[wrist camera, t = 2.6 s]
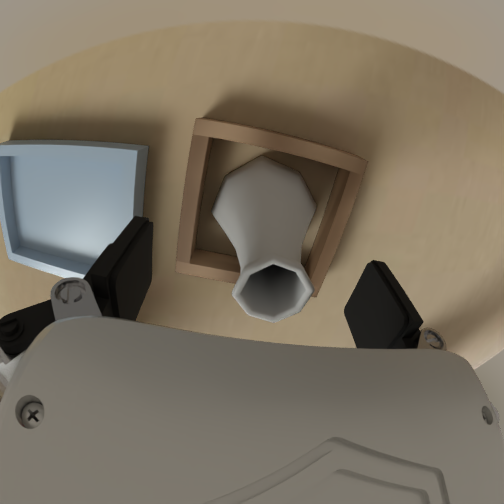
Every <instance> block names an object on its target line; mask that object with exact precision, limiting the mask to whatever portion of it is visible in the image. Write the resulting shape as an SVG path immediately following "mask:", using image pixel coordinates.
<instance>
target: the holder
mask: <svg viewBox="0 0 504 504" xmlns="http://www.w3.org/2000/svg"><path fill="white" fill-rule="evenodd" d="M213 138H219V139H224V140H230V141H235V142H240V143H245V144H250V145H255V146H259V147H264V148H268V149H272V150H277V151H281V152H285V153H289V154H293V155H297V156H300V157H304V158H308V159H312V160H315V161H319V162H322V163H326V164H329V165H332V166H336V167H339V170H338V173H337V176H336V179H335V182H334V186H333V189H332V192H331V195H330V198H329V201H328V204H327V207H326V210H325V213H324V216H323V219H322V222H321V224H320V227H319V230H318V233H317V236H316V239H315V241H314V244H313V247H312V250H311V253H310V255H309V258H308V261H307V263H306V266H305V269H304V270H305V271H306V273H307V275H308V277H309V279H310V280H311V282H312V284H313V286H314V289H315V291H314V293H313V294H312V296H311V297H317V295H318V292H319V290H320V288H321V286H322V283H323V281H324V279H325V276H326V274H327V272H328V269H329V267H330V264H331V262H332V260H333V257H334V255H335V252H336V250H337V247H338V245H339V242H340V240H341V237H342V235H343V232H344V229H345V227H346V224H347V221H348V219H349V216H350V213H351V211H352V208H353V205H354V202H355V200H356V197H357V194H358V191H359V188H360V185H361V182H362V179H363V176H364V173H365V170H366V167H367V164H368V161H366V160H364V159H362V158H361V157H359V156H357V155H354V154H351V153H348V152H345V151H342V150H339V149H336V148H333V147H329V146H326V145H323V144H319V143H316V142H313V141H309V140H306V139H302V138H298V137H295V136H291V135H287V134H283V133H279V132H275V131H270V130H266V129H262V128H257V127H252V126H247V125H242V124H237V123H232V122H226V121H221V120H215V119H208V118H196V119H195V125H194V130H193V136H192V141H191V147H190V153H189V159H188V165H187V172H186V179H185V186H184V193H183V201H182V209H181V217H180V226H179V236H178V246H177V257H176V270H175V272H178V273H183V274H188V275H193V276H198V277H203V278H208V279H213V280H218V281H224V282H229V283H234V284H236V282H237V280H238V278H239V276H240V273H241V267H240V263H239V260H238V257H235V256H230V255H225V254H220V253H215V252H209V251H204V250H199V249H195V244H196V237H197V230H198V223H199V216H200V209H201V203H202V197H203V191H204V185H205V179H206V173H207V167H208V162H209V156H210V151H211V146H212V141H213Z"/></svg>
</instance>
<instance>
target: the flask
mask: <svg viewBox="0 0 504 504" xmlns="http://www.w3.org/2000/svg"><path fill="white" fill-rule="evenodd" d="M316 207H317V205H316V203H315V201H314V199H313V197H312V195H311V193H310V191H309V189H308V187H307V185H306V183H305V182H304V180H303V178H302V176H301V174H300V172H298V171H296V170H294V169H292V168H289V167H287V166H285V165H283V164H280V163H278V162H276V161H274V160H271V159H269V158H267V157H264V156H262V155H261V156H260V157H258V158H256V159H254V160H252V161H250V162H249V163H247V164H245V165H243V166H242V167H240V168H238V169H236V170H234V171H233V172H231V173H229V174H228V175H226V176H225V178H224V180H223V182H222V185H221V187H220V190H219V192H218V195H217V197H216V200H215V202H214V205H213V208H212V210H211V212H212V214H213V216H214V217H215V219H216V220H217V221H218V223H219V224H220V226H221V227H222V229H223V230H224V232H225V233H226V235H227V236H228V238H229V239H230V241H231V243H232V244H233V246H234V247H235V249H236V252H237V256H238V260H239V263H240V267H241V273H240V276H239V278H238V280H237V282H236V284H235V286H234V289H233V291H232V296H233V297H234V298H235V300H236V301H237V302H238V303H239V305H240V306H241V307H242V308H243V310H244V311H245V312H246V313H247V315H250V316H253V317H256V318H259V319H263V320H266V321H269V322H273V323H275V322H278V321H280V320H282V319H285V318H287V317H289V316H292V315H294V314H296V313H299V312H300V311H301V310H302V308H303V307H304V306H305V304H306V303H307V301H308V300H309V298H310V297H311V296H312V294H313V293H314V291H315V289H314V286H313V284H312V282H311V280H310V279H309V277H308V275H307V273H306V271H305V270H304V268H303V266H302V264H301V248H302V243H303V241H304V238H305V235H306V232H307V229H308V226H309V224H310V222H311V219H312V217H313V215H314V212H315V210H316Z"/></svg>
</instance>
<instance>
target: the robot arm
mask: <svg viewBox="0 0 504 504" xmlns="http://www.w3.org/2000/svg"><path fill="white" fill-rule="evenodd" d="M152 240H153V222H149V218H146V217H140V216H134V217H133V219H132V220H131V221H130V222H129V223H128V225H127V226H126V227H125V228H124V230H123V231H122V232H121V233H120V235H119V236H118V237H117V238H116V240H115V241H114V242H113V243H110V244H109V245H108V246H107V247H106V248H105V249H104V251H103V252H102V253H101V255H100V256H99V257H98V259H97V260H96V261H95V263H94V264H93V265H92V267H91V268H90V269H89V271H88V272H87V274H86V275H85V276H84V278H83V279H82V278H79V277H69V278H65V279H62V280H60V281H59V282H57V283H56V284H55V285H54V286H53V288H52V290H51V299H50V300H48V301H45V302H42V303H39V304H36V305H33V306H30V307H27V308H24V309H21V310H19V311H16V312H13V313H10V314H8V315H6V316H4V317H3V318H1V319H0V504H504V439H503V436H502V433H501V430H500V427H499V424H498V423H499V414H498V411H497V409H496V408H495V407H494V406H493V404H492V403H491V402H490V401H489V399H488V397H487V394H486V392H485V390H484V388H483V386H482V384H481V382H480V380H479V378H478V377H477V375H476V373H475V371H474V370H473V368H472V366H471V365H470V364H469V362H468V361H467V360H466V359H464V358H463V357H461V356H459V355H457V354H455V353H452V352H449V351H446V343H445V340H444V339H443V337H442V336H441V335H440V334H439V333H438V332H437V331H436V330H434V329H432V328H428V327H427V328H423V329H422V330H421V332H420V330H419V328H420V326H421V325H422V324H423V320H422V318H421V317H420V315H419V314H418V312H417V310H416V309H415V307H414V305H413V304H412V302H411V301H410V299H409V298H408V296H407V295H406V293H405V291H404V290H403V288H402V287H401V285H400V284H399V282H398V281H397V279H396V278H395V277H394V275H393V274H392V272H391V271H390V269H389V268H388V266H387V265H386V264H385V263H384V262H380V261H376V260H373V261H371V262H370V263H368V264H367V265H366V267H365V269H364V271H363V273H362V275H361V277H360V279H359V281H358V283H357V285H356V287H355V289H354V291H353V293H352V295H351V297H350V298H349V300H348V302H347V304H346V306H345V309H344V314H345V317H346V320H347V322H348V325H349V328H350V330H351V333H352V336H353V339H354V341H355V344H356V347H357V348H336V347H318V346H304V345H292V344H281V343H272V342H263V341H254V340H246V339H239V338H231V337H224V336H217V335H211V334H204V333H198V332H192V331H187V330H181V329H176V328H170V327H165V326H160V325H154V324H149V323H143V322H138V321H135V320H136V318H137V315H138V313H139V310H140V308H141V305H142V303H143V301H144V298H145V296H146V293H147V291H148V289H149V286H150V284H151V279H152Z"/></svg>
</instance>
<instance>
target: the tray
mask: <svg viewBox="0 0 504 504" xmlns="http://www.w3.org/2000/svg"><path fill="white" fill-rule="evenodd" d="M148 149H149V146H145V145H136V144H125V143H114V142H100V141H81V140H10V141H6V142H3V143H0V220H1V226H2V231H3V236H4V241H5V245H6V250H7V254H8V258H9V259H10V260H13V261H16V262H18V263H21V264H24V265H27V266H30V267H33V268H36V269H39V270H42V271H45V272H48V273H51V274H54V275H57V276H61V277H64V278H69V277H79V278H82V279H83V278H84V276H85V275H86V274H87V272H88V271H89V269H90V268H91V267H92V265H93V264H94V263H95V261H96V260H97V259H98V257H99V256H100V255H101V253H102V252H103V251H104V249H105V248H106V247H107V246H108V245H109V244H110V243H113V242H114V241H115V240H116V238H117V237H118V236H119V235H120V233H121V232H122V231H123V230H124V228H125V227H126V226H127V225H128V223H129V222H130V221H131V220H132V219H133V217H134V216H140V217H143V203H144V189H145V177H146V166H147V157H148Z"/></svg>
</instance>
